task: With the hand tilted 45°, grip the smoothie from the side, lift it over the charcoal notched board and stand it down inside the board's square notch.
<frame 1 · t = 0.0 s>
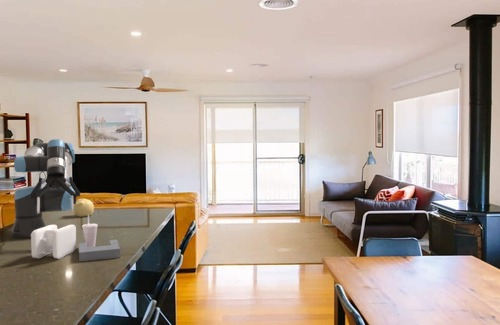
hand: (55, 211, 182), 15 cm above the kitchen island, tool tilted 35°, fingers open, 13 cm apart
pale yellow round lump: (83, 216, 253), on the kitchen island
cable organizer: (54, 256, 167), on the kitchen island
smoothie: (90, 247, 181), on the kitchen island
notched board: (99, 254, 170), on the kitchen island
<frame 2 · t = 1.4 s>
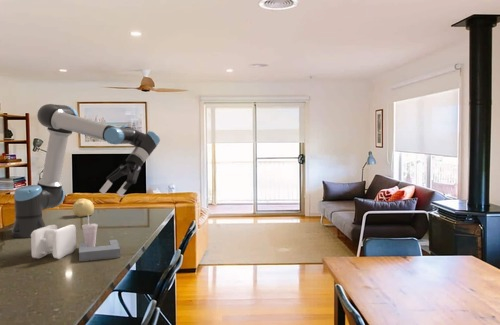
hand: (110, 193, 187), 22 cm above the kitchen island, tool tilted 45°, fingers open, 13 cm apart
nothing on the kitchen island moved.
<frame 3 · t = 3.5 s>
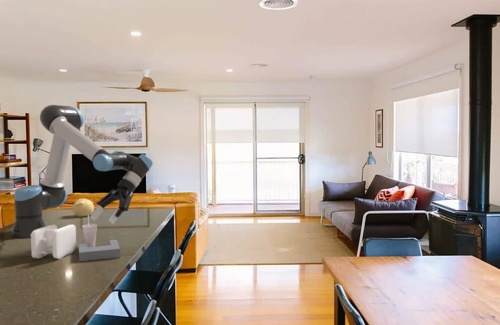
hand: (101, 220, 183), 11 cm above the kitchen island, tool tilted 45°, fingers open, 13 cm apart
nothing on the kitchen island moved.
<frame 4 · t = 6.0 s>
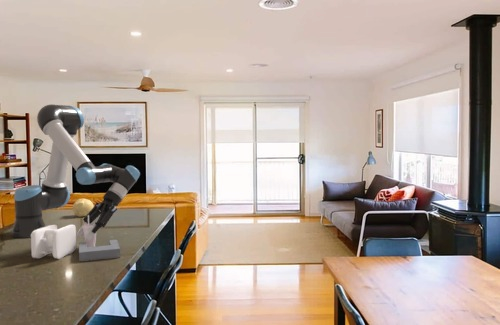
hand: (82, 237, 177), 5 cm above the kitchen island, tool tilted 45°, fingers closed on smoothie, 6 cm apart
smoothie: (90, 247, 181), on the kitchen island, touching gripper
everything else where it was.
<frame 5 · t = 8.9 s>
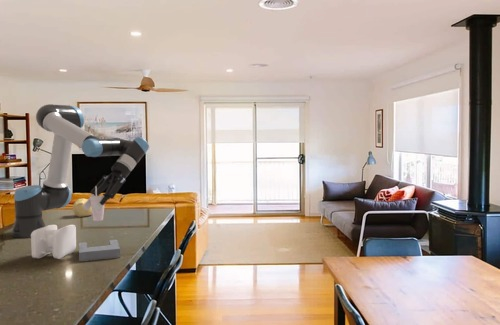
hand: (89, 209, 169), 18 cm above the kitchen island, tool tilted 45°, fingers closed on smoothie, 6 cm apart
smoothie: (98, 220, 172), point 13 cm above the kitchen island, touching gripper
everything else where it was.
when the fingers open (6 cm above the kitchen island, at t = 11.9 s): smoothie drops 1 cm, on the kitchen island.
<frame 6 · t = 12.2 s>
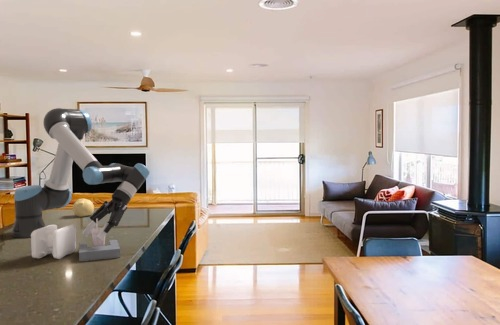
hand: (91, 236, 170), 7 cm above the kitchen island, tool tilted 45°, fingers open, 10 cm apart
smoothie: (99, 252, 173), on the kitchen island
everything else where it was.
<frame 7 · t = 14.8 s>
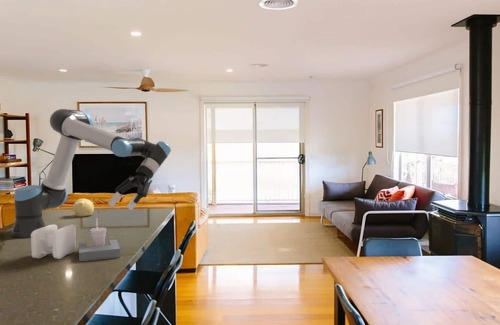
hand: (119, 206, 180), 17 cm above the kitchen island, tool tilted 45°, fingers open, 13 cm apart
nothing on the kitchen island moved.
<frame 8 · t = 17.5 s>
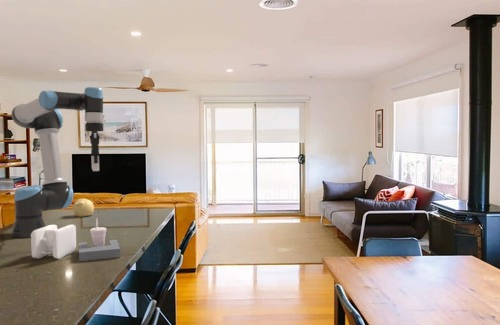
hand: (95, 169, 188), 33 cm above the kitchen island, tool pointing down, fingers open, 13 cm apart
nothing on the kitchen island moved.
at the end: smoothie 0.1 cm from the target spot, on the kitchen island; smoothie tilted 0°; the gripper is holding nothing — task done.
